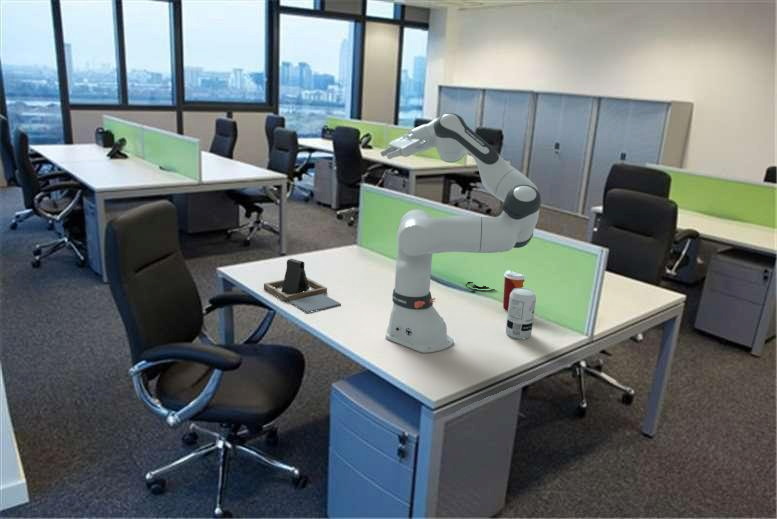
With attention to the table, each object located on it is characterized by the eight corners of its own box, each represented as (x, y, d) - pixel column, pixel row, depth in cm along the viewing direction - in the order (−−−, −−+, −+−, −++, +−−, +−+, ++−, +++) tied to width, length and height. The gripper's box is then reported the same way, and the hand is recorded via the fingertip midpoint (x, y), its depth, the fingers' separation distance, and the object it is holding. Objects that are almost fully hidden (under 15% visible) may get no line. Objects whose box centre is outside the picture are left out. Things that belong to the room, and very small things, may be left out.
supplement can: (503, 329, 197) (508, 286, 193) (528, 330, 197) (533, 288, 192) (507, 339, 189) (512, 295, 185) (533, 340, 189) (539, 296, 185)
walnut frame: (327, 293, 221) (327, 288, 220) (286, 302, 210) (286, 296, 209) (303, 280, 233) (303, 275, 232) (263, 288, 222) (263, 283, 221)
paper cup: (515, 315, 209) (520, 277, 205) (496, 309, 214) (500, 272, 210) (525, 309, 215) (530, 272, 211) (506, 303, 220) (510, 268, 216)
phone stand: (296, 286, 226) (296, 256, 223) (309, 289, 224) (309, 259, 220) (281, 292, 219) (281, 261, 215) (294, 296, 216) (294, 264, 213)
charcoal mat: (340, 305, 210) (340, 303, 210) (307, 313, 201) (307, 311, 201) (322, 295, 218) (322, 293, 218) (289, 302, 210) (289, 300, 210)
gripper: (431, 150, 201) (394, 167, 200) (414, 145, 220) (381, 160, 219) (424, 133, 199) (387, 150, 197) (408, 129, 218) (374, 145, 217)
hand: (384, 155), depth 208 cm, fingers open, 8 cm apart
